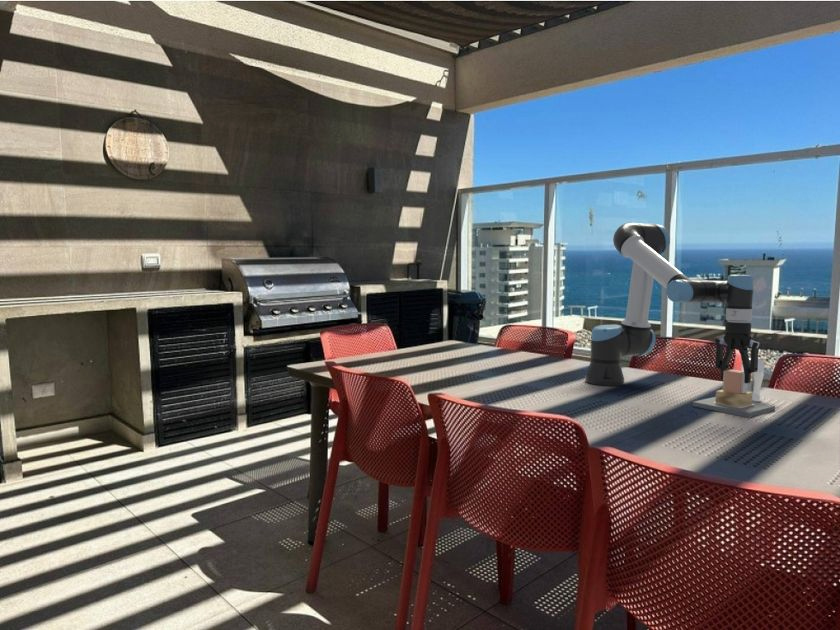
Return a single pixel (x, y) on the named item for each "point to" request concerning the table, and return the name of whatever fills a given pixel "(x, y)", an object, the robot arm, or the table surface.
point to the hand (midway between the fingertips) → (734, 391)
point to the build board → (740, 411)
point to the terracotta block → (732, 381)
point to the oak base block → (733, 398)
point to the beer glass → (756, 381)
